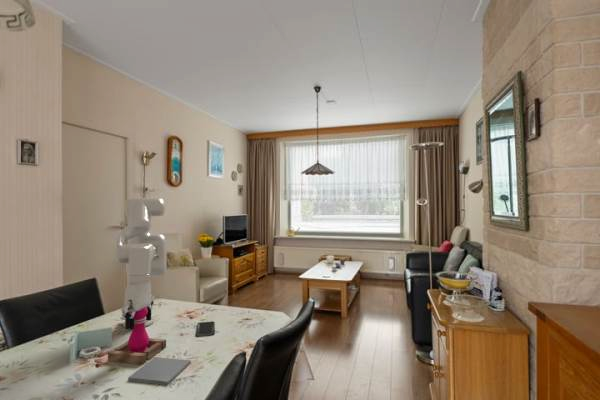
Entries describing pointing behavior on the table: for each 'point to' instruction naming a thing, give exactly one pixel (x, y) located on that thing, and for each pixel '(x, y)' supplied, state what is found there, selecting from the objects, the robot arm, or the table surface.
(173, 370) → the slate tile
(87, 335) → the right angle wall
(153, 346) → the collar
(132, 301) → the robot arm
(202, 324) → the phone
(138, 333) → the pepper mill
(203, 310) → the table surface
